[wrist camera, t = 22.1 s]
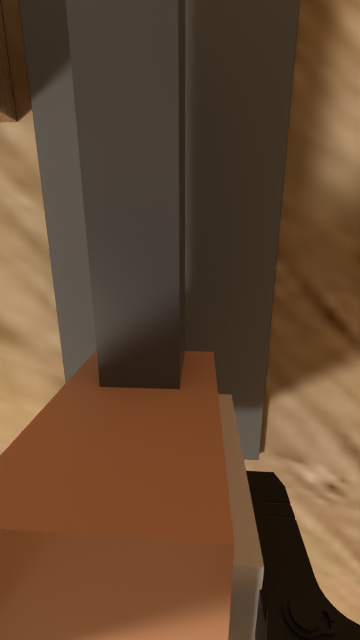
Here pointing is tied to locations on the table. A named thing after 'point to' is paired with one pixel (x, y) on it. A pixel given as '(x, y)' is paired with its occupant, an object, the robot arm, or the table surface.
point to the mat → (187, 184)
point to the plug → (124, 378)
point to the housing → (5, 81)
